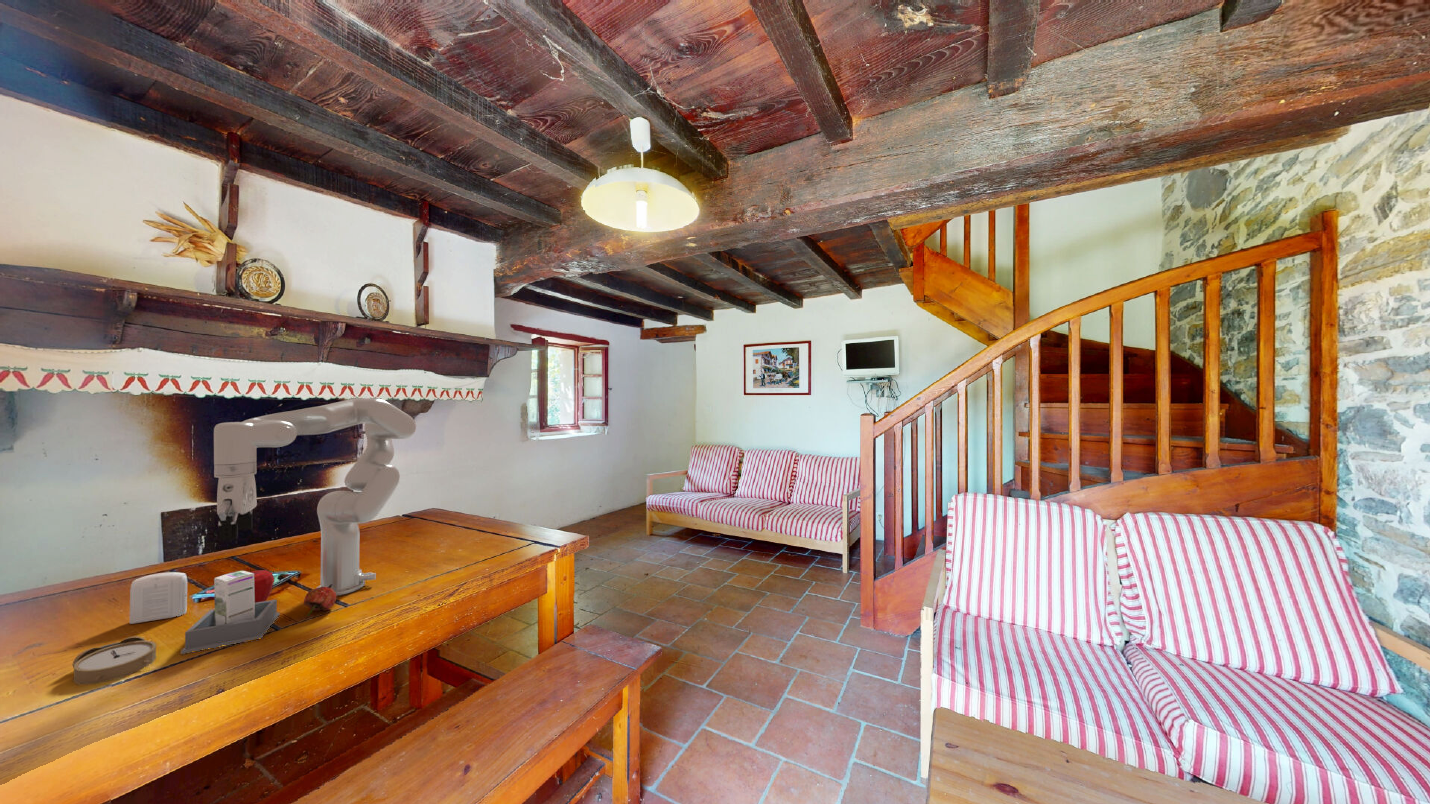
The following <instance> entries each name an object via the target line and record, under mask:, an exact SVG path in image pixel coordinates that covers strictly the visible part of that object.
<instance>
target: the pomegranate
mask: <svg viewBox="0 0 1430 804" xmlns="http://www.w3.org/2000/svg"><path fill="white" fill-rule="evenodd" d="M331 586H332V584H330V586H328V587H319V588H317V587H316V588H312V589H311V590H310V591H308V592H307V593H306V595H305V596H304V599H303V605H304V606H306V607H308V608H309V609H310V610H309V612H308V614H307V615H306V616H309V615H310V614H311V613H312V612H313V611H314V612H315V611H317V612H319V611H323V612H325V611H328V610H330V609H331V608H333V606H334V604H336V601H337V596H336V593H335V592H334V591H333V589H332V588H331Z"/></svg>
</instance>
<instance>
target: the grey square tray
mask: <svg viewBox="0 0 1430 804" xmlns="http://www.w3.org/2000/svg"><path fill="white" fill-rule="evenodd" d="M277 602H278V600H277V599H271V600H266V601H263V602H257V603H255V619H252V620H246V621H241V622H235V623H229V624H223V625H217V626H215V608H214V609H210V610H209V611H207V612H206V613H205V614H204V615H202V617H200V619H199V620H198V621H196V622H195V623H194V624H193V625H192V626H191V627H189V629H187V630H185V632H184V633H185V634H184V636H185V637H184V639H185V640H184V644H185V645H184V647H183V648H181V650H180V655H181V654H183V655H186V654H185V653H188V652H192V651H198V652H200V651H199V650H202V649H203V650H204V649H208V648H214V649H217V648H216V647H219V646H222V645H230V644H234V643H240V642H243V641H246V640H254V639H259V638H262V637H263V635H264V634H265V633H266V631H267V630H268V629H269V628H270V626H271V625H272V624H273V622H274V621H275V620H276V619H277V618H278V619H279V617H280V616H279V615H281V613H280V612H278V611H277V610H278V609H277V605H278V603H277ZM278 616H279V617H278ZM278 619H277V620H278ZM277 620H276V621H277ZM276 621H275V622H276ZM275 622H274V623H275ZM273 625H274V624H273ZM273 625H272V626H273ZM272 626H271V627H272ZM270 629H271V628H270ZM270 629H269V630H270ZM269 630H268V631H269ZM266 634H267V633H266ZM266 634H265V635H266ZM263 638H264V637H263ZM263 638H262V639H263ZM240 644H241V643H240ZM230 646H231V645H230ZM219 648H220V647H219ZM204 651H205V650H204ZM188 654H189V653H188Z"/></svg>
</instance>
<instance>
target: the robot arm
mask: <svg viewBox="0 0 1430 804" xmlns="http://www.w3.org/2000/svg"><path fill="white" fill-rule="evenodd" d="M362 424H364V425H363V426H364V433H365V436H366V448H365V450H364V451H363V453H362V454H361V455H360V457H359V458H358V459H357V460H356V462H355V463H354V464H353V466H352V467H351V468H350V469H349V471H348V472H347V474H346V476H345V477H344V481H343V482H344V485H345V486H346V487H347V489H349V490H352V491H349V490H335V491H330V492H328V493H326V494H325V495H324V496H322V497H321V498H320V500H319V501H318V504H317V508H316V513H317V517H318V522H319V525H320V526H319V527H320V538H321V539H320V585H319V586H317V587H316V588H319V587H328V586H330V584H332V586H331V588H332V589H333V591H334V592H335V593H336V597H337V596H342V595H343V596H344V595H346V594H350V593H353V592H356V591H358V590H360V589H361V588H363V587H364V586H365V584H366V581H372V580H376V578H377V577H376V575H377V573H376V572H374V573H373V572H372V571H370V572H365V573H364V572H362V568H360V527H359V525H358V524H364V523H368V522H370V521H372V520H374V519H375V518H376V517H377V516H378V515H379V513H381V511H382V509H383V508H384V506H385V505H387V504H386V503H387V502H388V501H389V499H390V498H391V496H392V495H393V493H394V492H395V491H396V489H397V488H398V485H399V483H400V472H399V471H400V470H399V469H398V468H397V467H396V466H394V465H391V464H390V463H391V462H392V461H393V458H394V456H395V448H394V445H393V441H392V440H404V439H408V438H410V437H412V436H413V435H414V434H415V432H416V427H417V425H416V422H415V420H414V418H413V417H412V416H411V415H410V414H408V413H406V412H404V411H403V410H402V409H399V408H398V407H396V405H394V404H392V403H389V402H388V401H386V400H384V399H381V398H371V397H370V398H368V397H365V398H362V397H356V398H350V399H346V400H341V401H337V402H332V403H329V404H324V405H319V406H312V407H305V408H302V409H301V408H300V409H295V410H290V411H282V412H276V413H272V414H271V413H270V414H265V415H261V416H257V417H256V416H255V417H252V418H249V419H245V420H243V421H234V422H233V421H230V422H228V421H227V422H221V423H218V424H216V425H215V426H214V428H213V465H214V466H213V467H214V468H213V469H214V470H213V473H214V474H213V475H214V478H218V482H217V491H216V492H217V493H216V495H217V496H216V513H217V515H218V518H217V519H218V523H217V525H218V541H219V542H228V541H236V540H237V539H238V536H239V535H238V534H239V533H238V531H247V530H252V529H253V509H255V508H256V507H257V506H258V502H257V501H258V499H257V497H258V496H257V485H256V478H255V475H257V448H280V447H281V448H282V447H286V446H288V445H290V444H291V443H293V442H294V441H295V440H296V438H297V436H310V435H311V436H313V435H322V434H328V433H332V432H336V431H339V430H343V429H346V428H350V427H353V426H356V425H362Z"/></svg>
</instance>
